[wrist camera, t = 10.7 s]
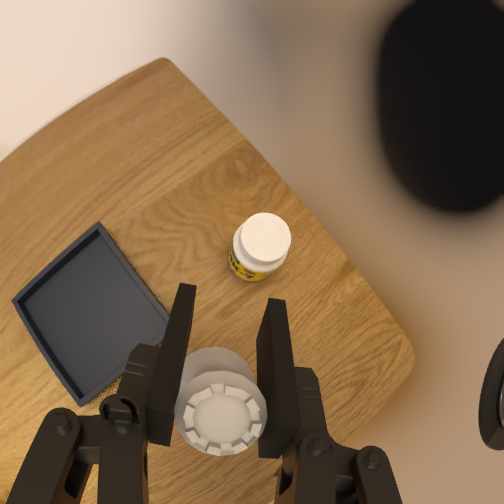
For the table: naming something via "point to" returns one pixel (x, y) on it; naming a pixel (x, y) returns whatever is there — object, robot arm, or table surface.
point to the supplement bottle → (259, 247)
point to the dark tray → (90, 314)
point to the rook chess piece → (219, 403)
